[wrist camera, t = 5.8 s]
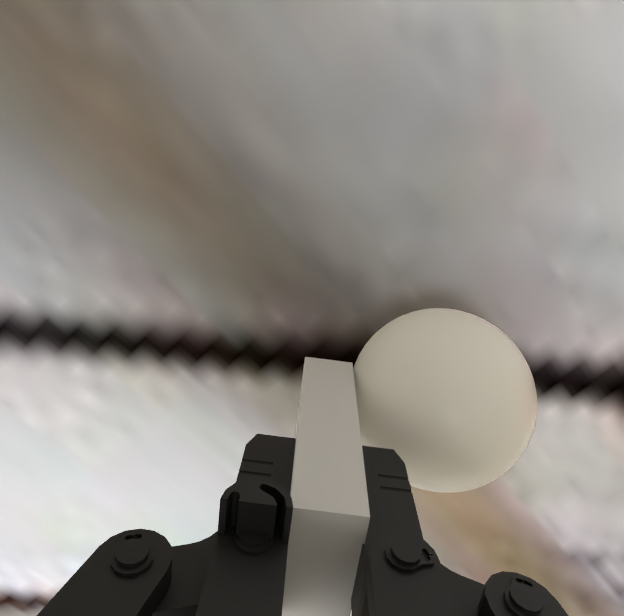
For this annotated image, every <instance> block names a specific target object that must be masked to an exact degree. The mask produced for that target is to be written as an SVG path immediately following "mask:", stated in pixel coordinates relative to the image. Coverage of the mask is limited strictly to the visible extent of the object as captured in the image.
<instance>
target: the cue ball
mask: <svg viewBox="0 0 624 616" xmlns="http://www.w3.org/2000/svg"><path fill="white" fill-rule="evenodd" d="M353 373H354V381H355V390H356V399H357V407H358V416H359V425H360V433H361V442H362V444H363V446H370V447H378V448H386V449H394V450H395V452H396V453H397V454H398V455H399V457H400V458H401V459H402V460H403V462H404V463H405V466H406V470H407V474H408V481H409V482H410V485H411V486H413V487H416V488H419V489H423V490H427V491H431V492H441V493H452V492H463V491H468V490H473V489H476V488H479V487H482V486H484V485H486V484H488V483H490V482H492V481H494V480H496V479H497V478H498V477H500V476H501V475H503V474H504V473H505V472H507V471H508V470H509V469H510V468H511V467H512V466H513V465H514V464H515V463H516V462H517V460H518V459H519V458H520V456H521V455H522V453H523V452H524V451H525V449H526V447H527V445H528V443H529V441H530V438H531V436H532V433H533V430H534V427H535V422H536V416H537V393H536V388H535V384H534V379H533V376H532V373H531V371H530V368H529V366H528V364H527V362H526V360H525V358H524V356H523V355H522V353H521V352H520V350H519V349H518V348H517V346H516V345H515V344H514V342H513V341H512V340H511V339H510V338H509V337H508V336H507V335H506V334H505V333H504V332H502V331H501V330H500V329H499V328H497V327H496V326H495V325H493V324H491V323H490V322H488V321H486V320H485V319H483V318H480V317H478V316H476V315H473V314H471V313H467V312H464V311H460V310H455V309H448V308H430V309H422V310H417V311H413V312H410V313H407V314H404V315H402V316H400V317H398V318H396V319H394V320H392V321H390V322H389V323H387V324H386V325H385V326H383V327H382V328H380V329H379V330H378V331H377V332H376V333H375V334H374V335H373V336H372V337H371V338H370V340H369V341H368V342H367V343H366V344H365V346H364V348H363V349H362V351H361V352H360V354H359V356H358V358H357V360H356V363H355V365H354V368H353Z"/></svg>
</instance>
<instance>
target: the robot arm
mask: <svg viewBox="0 0 624 616" xmlns="http://www.w3.org/2000/svg"><path fill="white" fill-rule="evenodd" d="M351 610H352V616H568V615H567V613H566V612H565V611H564V609H563V608H562V607H561V605H560V604H559V602H558V601H557V600H556V599H555V598H554V597H553V596H552V595H551V594H550V593H549V591H548V590H547V589H546V588H545V587H543V586H542V585H540V584H539V583H537V582H536V581H534V580H533V579H531V578H529V577H526V576H523V575H521V574H518V573H514V572H499V573H496V574H493V575H492V576H491V577H490V578H489V579H488V581H487V582H486V584H485V585H484V584H481V583H479V582H476V581H473V580H471V579H468V578H466V577H463V576H461V575H459V574H457V573H455V572H453V571H451V570H449V569H448V568H446V567H445V566H443V565H442V564H440V561H439V559H438V557H437V555H436V553H435V551H434V549H433V548H432V547H431V546H430V545H429V544H428V543H427V542H426V541H425V540H423V536H422V532H421V528H420V524H419V520H418V515H417V511H416V507H415V503H414V499H413V495H412V493H411V487H410V482H409V481H408V474H407V470H406V466H405V463H404V462H403V460H402V459H401V458H400V457H399V455H398V454H397V453H396V452H395V450H394V449H386V448H378V447H370V446H362V442H361V433H360V425H359V416H358V407H357V399H356V390H355V381H354V373H353V364H352V363H351V362H343V361H335V360H327V359H319V358H311V357H305V361H304V368H303V376H302V383H301V391H300V398H299V406H298V414H297V421H296V429H295V437H294V438H287V437H279V436H271V435H263V434H257V435H256V436H255V437H254V438H253V439H252V440H251V441H249V442H248V443H247V444H246V447H245V451H244V455H243V458H242V462H241V466H240V469H239V473H238V477H237V481H236V483H235V484H233V485H232V486H230V487H229V488H227V489H226V490H225V492H224V494H223V495H222V497H221V499H220V511H219V524H218V531H217V532H216V533H214V534H213V535H212V536H210V537H208V538H206V539H204V540H202V541H200V542H196V543H192V544H187V545H180V546H173V547H171V545H170V544H169V542H168V541H167V539H166V538H165V537H164V536H162V535H160V534H159V533H157V532H155V531H151V530H145V529H136V530H128V531H124V532H122V533H119V534H117V535H115V536H112V537H110V538H109V539H108V540H107V541H105V542H104V543H103V544H102V545H101V546H99V547H98V548H97V550H96V551H95V552H94V553H93V554H92V555H91V556H90V557H89V558H88V559H87V561H86V562H85V563H84V564H83V565H82V566H81V567H80V568H79V569H78V571H77V572H76V573H75V574H74V575H73V576H72V577H71V578H70V579H69V581H68V582H67V583H66V584H65V585H64V586H63V587H62V588H61V589H60V591H59V592H58V593H57V594H56V595H55V596H54V597H53V598H52V599H51V600H50V602H49V603H48V604H47V605H46V606H45V607H44V608H43V609H42V610H41V612H40V613H39V614H38V615H37V616H350V613H351Z"/></svg>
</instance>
